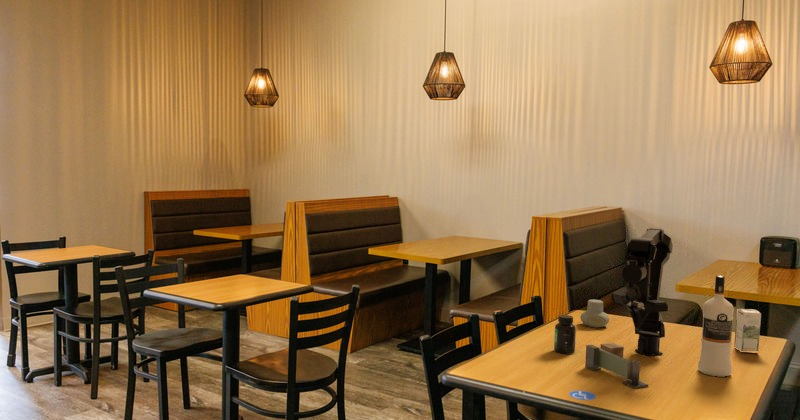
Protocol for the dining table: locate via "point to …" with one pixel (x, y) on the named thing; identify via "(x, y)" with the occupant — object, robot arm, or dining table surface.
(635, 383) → the hinge post
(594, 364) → the latch stile
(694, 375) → the dining table surface
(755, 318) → the syrup box
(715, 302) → the vodka
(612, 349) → the reddish brown cube
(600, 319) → the air freshener
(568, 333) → the supplement bottle
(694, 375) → the dining table surface
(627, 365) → the grey slab
